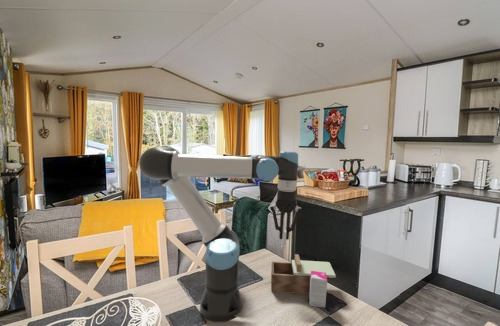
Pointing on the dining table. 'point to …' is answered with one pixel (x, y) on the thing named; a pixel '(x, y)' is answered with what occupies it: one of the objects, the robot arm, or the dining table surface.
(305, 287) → the box
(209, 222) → the robot arm
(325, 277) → the supplement box
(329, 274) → the lid
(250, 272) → the dining table surface
